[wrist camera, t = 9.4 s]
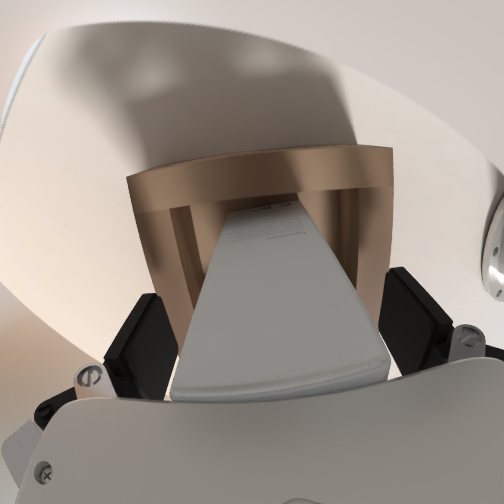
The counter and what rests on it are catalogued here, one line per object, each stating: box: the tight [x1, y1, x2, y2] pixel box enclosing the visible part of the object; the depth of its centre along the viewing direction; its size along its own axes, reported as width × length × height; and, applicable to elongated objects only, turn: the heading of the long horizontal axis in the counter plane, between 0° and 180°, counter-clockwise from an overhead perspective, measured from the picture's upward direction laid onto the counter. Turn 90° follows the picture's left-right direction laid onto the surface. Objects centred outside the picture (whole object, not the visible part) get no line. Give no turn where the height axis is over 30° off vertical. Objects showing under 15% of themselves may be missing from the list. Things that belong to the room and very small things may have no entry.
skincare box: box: [169, 200, 391, 402], centre depth 11 cm, size 6×4×12 cm
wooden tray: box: [126, 144, 394, 358], centre depth 15 cm, size 12×12×4 cm
